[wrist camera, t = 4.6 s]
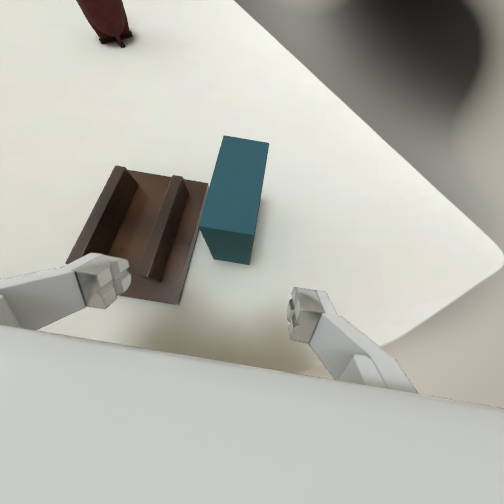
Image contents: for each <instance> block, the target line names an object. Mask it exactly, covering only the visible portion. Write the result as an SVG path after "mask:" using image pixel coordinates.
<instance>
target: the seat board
mask: <svg viewBox="0 0 504 504" xmlns="http://www.w3.org/2000/svg"><path fill="white" fill-rule="evenodd" d="M208 190H209V185H208V183H203V182H197V181H191V180H185V179H183V177H181V176H175V175H173V176H172V177H167V176H161V175H155V174H149V173H143V172H137V171H131V170H127V169H126V168H125V167H121V166H115V167H114V169H113V171H112V173H111V175H110V177H109V179H108V181H107V183H106V185H105V187H104V189H103V191H102V193H101V195H100V197H99V199H98V201H97V203H96V204H95V206H94V208H93V210H92V212H91V214H90V216H89V218H88V220H87V222H86V224H85V226H84V228H83V230H82V232H81V234H80V236H79V238H78V240H77V242H76V244H75V245H74V247H73V249H72V251H71V253H70V255H69V257H68V259H67V261H66V264H69V263H71V262H73V261H75V260H77V259H79V258H81V257H83V256H85V255H87V254H89V253H100V254H104V255H111V256H116V257H121V258H125V259H127V260H128V262H129V268H128V269H127V270H128V272H129V273H130V274H131V284H130V286H129V287H128V289H127V290H126V291H125V292H124V293H122V294H119V295H120V296H127V297H133V298H139V299H145V300H152V301H158V302H164V303H171V304H177V305H178V303H179V300H180V296H181V293H182V289H183V285H184V282H185V278H186V274H187V271H188V267H189V263H190V260H191V256H192V253H193V249H194V245H195V242H196V238H197V234H198V231H199V223H200V219H201V216H202V212H203V208H204V205H205V201H206V198H207V194H208Z"/></svg>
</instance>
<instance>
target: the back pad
mask: <svg viewBox="0 0 504 504" xmlns="http://www.w3.org/2000/svg"><path fill="white" fill-rule="evenodd" d="M268 148H269V143H265V142H259V141H253V140H248V139H242V138H236V137H230V136H223V140H222V144H221V147H220V151H219V154H218V158H217V162H216V165H215V169H214V172H213V176H212V180H211V183H210V187H209V190H208V194H207V198H206V201H205V205H204V208H203V212H202V216H201V219H200V223H199V228H200V230H201V232H202V234H203V237H204V239H205V241H206V243H207V245H208V247H209V250H210V252H211V254H212V256H213V258H214V259H217V260H223V261H229V262H235V263H241V264H248V265H249V262H250V257H251V252H252V246H253V241H254V236H255V229H256V223H257V217H258V211H259V204H260V198H261V192H262V186H263V179H264V173H265V167H266V161H267V154H268Z"/></svg>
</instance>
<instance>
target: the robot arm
mask: <svg viewBox="0 0 504 504" xmlns="http://www.w3.org/2000/svg"><path fill="white" fill-rule="evenodd" d="M128 268H129V262H128V260H127V259H125V258H121V257H116V256H111V255H104V254H100V253H89V254H87V255H85V256H83V257H81V258H79V259H77V260H75V261H73V262H71V263H69V264H67V265H65V266H63V267H61V268H59V269H57V268H53V269H49V270H44V271H39V272H34V273H29V274H24V275H20V276H15V277H10V278H5V279H0V504H504V408H500V407H494V406H488V405H482V404H476V403H470V402H464V401H458V400H452V399H446V398H440V397H434V396H427V395H422V394H419V393H418V392H417V390H416V389H415V387H414V386H413V384H412V383H411V381H410V380H409V378H408V377H407V375H406V374H405V372H404V371H403V369H402V368H401V366H400V365H399V363H398V362H397V360H396V359H394V358H393V357H392V356H391V355H389V354H388V353H387V352H386V351H384V350H383V349H382V348H381V347H379V346H378V345H377V344H376V343H374V342H373V341H372V340H371V339H369V338H368V337H367V336H366V335H364V334H363V333H362V332H361V331H359V330H358V329H357V328H356V327H354V326H353V325H352V324H351V323H349V322H348V321H347V320H346V319H344V318H343V317H342V316H338V314H337V312H336V310H335V308H334V306H333V304H332V302H331V300H330V298H329V296H328V294H327V292H325V291H320V290H311V289H305V288H298V287H294V288H293V290H292V293H291V294H292V299H291V300H290V301H289V303H288V307H287V320H288V321H289V322H290V325H289V334H290V340H293V341H299V342H304V343H309V345H310V347H311V348H312V349H313V351H314V352H315V354H316V355H317V356H318V358H319V359H320V360H321V362H322V363H323V364H324V366H325V367H326V369H327V370H328V371H329V373H330V374H331V375H332V377H333V378H334V379H335V380H332V379H325V378H320V377H314V376H308V375H302V374H296V373H290V372H284V371H278V370H272V369H266V368H260V367H254V366H248V365H241V364H235V363H229V362H223V361H217V360H211V359H205V358H199V357H193V356H187V355H181V354H175V353H169V352H163V351H157V350H151V349H145V348H139V347H133V346H127V345H121V344H115V343H109V342H103V341H97V340H91V339H85V338H79V337H73V336H67V335H61V334H55V333H49V332H43V331H36V330H38V329H40V328H42V327H44V326H46V325H49V324H51V323H53V322H55V321H57V320H59V319H62V318H64V317H66V316H68V315H70V314H72V313H74V312H77V311H79V310H81V309H83V308H85V307H86V306H87V307H94V308H101V309H106V308H107V307H108V306H109V305H110V304H112V303H113V302H114V301H115V300H116V299H117V295H119V294H122V293H124V292H125V291H126V290H127V289H128V287H129V286H130V284H131V274H130V273H129V272H128V270H127V269H128Z"/></svg>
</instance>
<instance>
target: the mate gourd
mask: <svg viewBox="0 0 504 504" xmlns="http://www.w3.org/2000/svg"><path fill="white" fill-rule="evenodd" d="M76 1H77V2H78V4H79V6H80V8H81V9H82V11H83V13H84V15H85V17H86V18H87V20H88V22H89V23H90V25H91V26H92V28H93V29H94V30H95V32H96V33H97V34H98V36H99V37H100V39H99V40H100V42H101V43H102V44H104V43H108V42H112V41H116V42H117V43H118V44H119V45H120V47H125V45H124V43H123V42H122V40H121V39H124V38H128V37H132V32H131V31H129V27H128V21H127V17H126V13H125V10H124V7H123V2H122V0H76Z"/></svg>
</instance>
